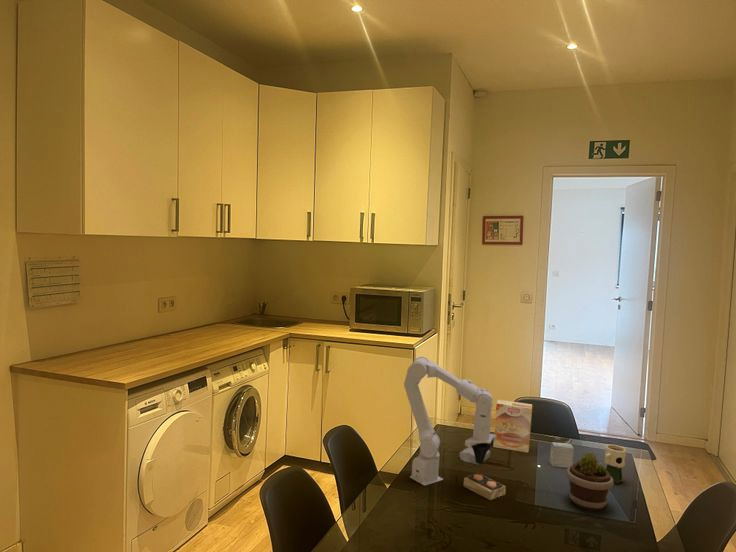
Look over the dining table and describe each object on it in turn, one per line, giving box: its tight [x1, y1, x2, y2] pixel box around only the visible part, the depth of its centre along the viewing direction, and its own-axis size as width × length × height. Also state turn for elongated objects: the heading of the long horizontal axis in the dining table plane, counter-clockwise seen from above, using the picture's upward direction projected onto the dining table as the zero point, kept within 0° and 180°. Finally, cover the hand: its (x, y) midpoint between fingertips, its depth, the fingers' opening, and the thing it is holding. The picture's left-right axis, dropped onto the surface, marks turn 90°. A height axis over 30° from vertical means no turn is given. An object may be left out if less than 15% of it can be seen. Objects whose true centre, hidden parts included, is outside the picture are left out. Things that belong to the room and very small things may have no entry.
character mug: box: [604, 444, 627, 484], centre depth 200 cm, size 11×7×13 cm, turn 120°
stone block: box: [459, 446, 491, 466], centre depth 214 cm, size 12×5×10 cm
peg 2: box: [487, 481, 496, 488], centre depth 183 cm, size 3×3×3 cm
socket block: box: [463, 472, 507, 501], centre depth 185 cm, size 8×12×4 cm, turn 37°
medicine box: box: [549, 441, 575, 469], centre depth 212 cm, size 8×4×9 cm, turn 84°
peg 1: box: [474, 474, 484, 481], centre depth 187 cm, size 3×3×3 cm
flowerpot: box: [565, 450, 615, 512], centre depth 179 cm, size 14×15×20 cm
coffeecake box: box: [492, 399, 533, 453], centre depth 229 cm, size 15×7×20 cm, turn 73°
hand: (479, 463), depth 187 cm, fingers closed
